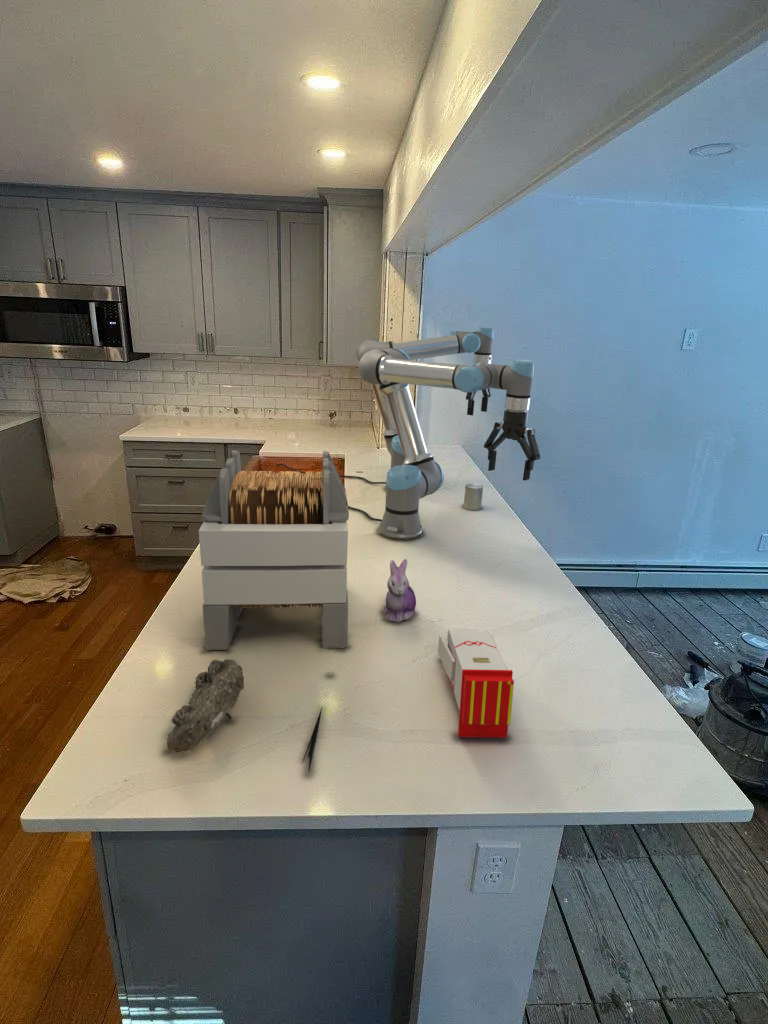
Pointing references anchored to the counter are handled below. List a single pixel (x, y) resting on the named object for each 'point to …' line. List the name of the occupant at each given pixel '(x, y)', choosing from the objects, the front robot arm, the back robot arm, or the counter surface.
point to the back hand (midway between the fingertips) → (477, 413)
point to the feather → (313, 740)
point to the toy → (478, 682)
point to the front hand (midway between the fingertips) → (508, 474)
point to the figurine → (399, 594)
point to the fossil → (206, 705)
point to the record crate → (274, 548)
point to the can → (473, 496)
